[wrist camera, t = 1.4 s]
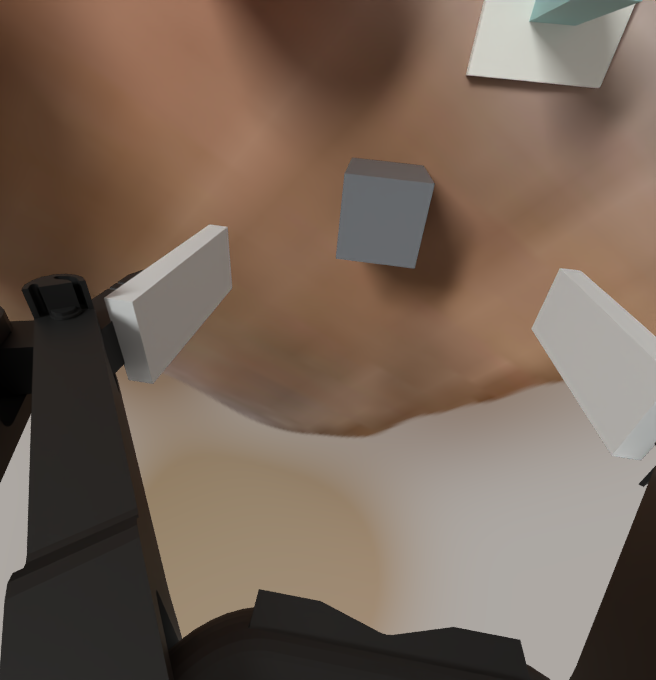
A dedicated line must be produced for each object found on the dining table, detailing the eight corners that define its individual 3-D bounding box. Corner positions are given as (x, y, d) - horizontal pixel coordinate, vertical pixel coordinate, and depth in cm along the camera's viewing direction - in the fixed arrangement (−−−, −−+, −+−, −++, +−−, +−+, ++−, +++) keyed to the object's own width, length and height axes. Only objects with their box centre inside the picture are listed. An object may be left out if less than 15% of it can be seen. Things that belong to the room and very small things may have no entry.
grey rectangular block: (344, 228, 29) (335, 258, 24) (352, 157, 26) (344, 173, 21) (408, 236, 29) (414, 268, 24) (423, 165, 26) (434, 183, 21)
